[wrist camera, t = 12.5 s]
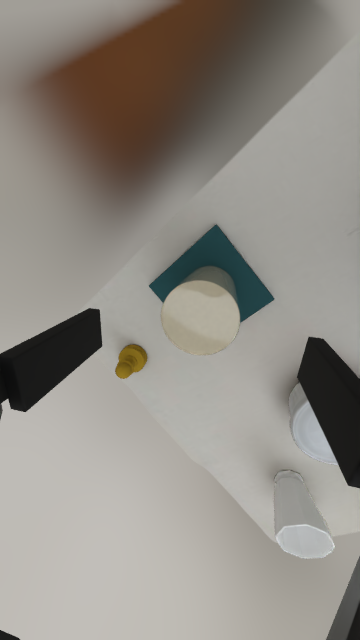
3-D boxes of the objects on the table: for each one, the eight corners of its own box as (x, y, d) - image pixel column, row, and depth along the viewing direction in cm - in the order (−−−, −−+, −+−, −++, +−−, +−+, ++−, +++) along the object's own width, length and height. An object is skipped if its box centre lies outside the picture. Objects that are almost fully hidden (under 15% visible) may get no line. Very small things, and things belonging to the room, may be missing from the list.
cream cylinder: (184, 263, 27) (161, 276, 18) (240, 268, 26) (246, 284, 17) (180, 314, 30) (159, 349, 20) (231, 321, 29) (233, 360, 19)
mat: (150, 285, 30) (148, 286, 29) (216, 224, 26) (216, 224, 25) (203, 346, 31) (202, 348, 31) (273, 298, 27) (274, 299, 27)
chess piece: (134, 372, 35) (120, 392, 30) (117, 353, 34) (100, 371, 30) (152, 359, 34) (140, 378, 29) (135, 339, 33) (119, 356, 28)
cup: (290, 456, 35) (307, 516, 27) (337, 494, 35) (366, 563, 28) (256, 476, 37) (263, 536, 30) (300, 511, 38) (318, 578, 31)
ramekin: (323, 445, 33) (340, 481, 28) (263, 399, 32) (270, 428, 27) (396, 399, 28) (431, 432, 24) (328, 346, 28) (349, 369, 23)
